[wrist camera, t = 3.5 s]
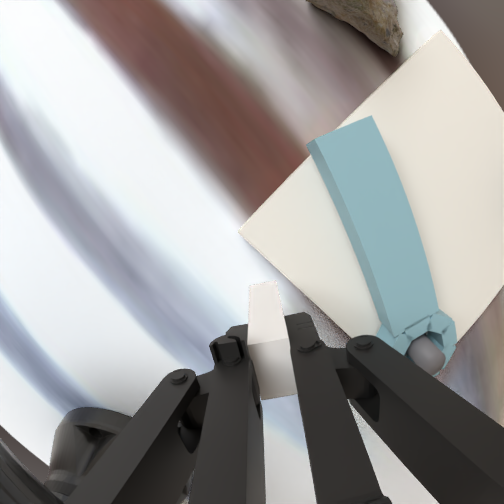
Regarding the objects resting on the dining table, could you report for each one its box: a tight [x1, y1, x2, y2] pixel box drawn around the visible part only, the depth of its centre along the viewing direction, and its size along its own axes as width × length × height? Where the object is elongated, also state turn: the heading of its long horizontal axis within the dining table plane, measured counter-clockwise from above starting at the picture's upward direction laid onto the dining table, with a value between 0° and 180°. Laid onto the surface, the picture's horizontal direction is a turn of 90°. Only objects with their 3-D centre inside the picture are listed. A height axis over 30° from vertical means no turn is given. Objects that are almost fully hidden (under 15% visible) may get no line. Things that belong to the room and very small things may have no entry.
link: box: [306, 115, 457, 377], centre depth 17 cm, size 18×6×2 cm, turn 27°
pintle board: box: [238, 30, 504, 376], centre depth 16 cm, size 22×19×6 cm
